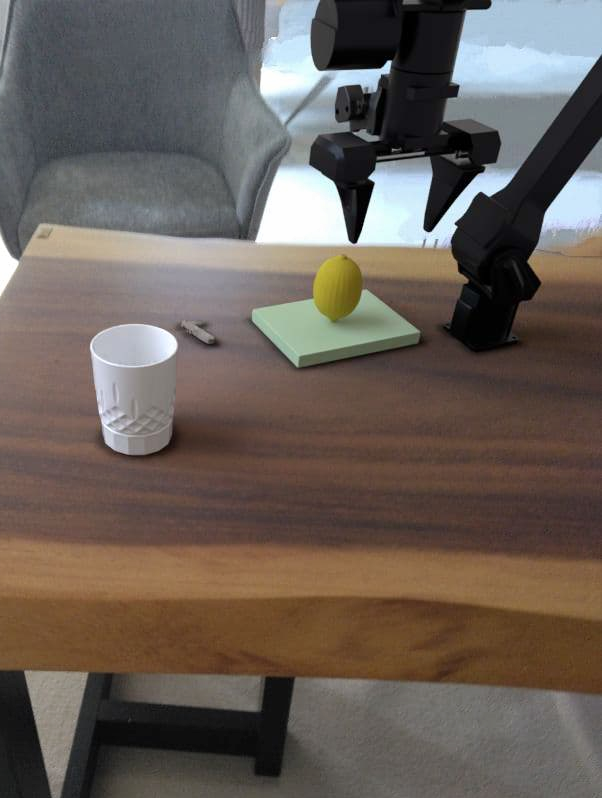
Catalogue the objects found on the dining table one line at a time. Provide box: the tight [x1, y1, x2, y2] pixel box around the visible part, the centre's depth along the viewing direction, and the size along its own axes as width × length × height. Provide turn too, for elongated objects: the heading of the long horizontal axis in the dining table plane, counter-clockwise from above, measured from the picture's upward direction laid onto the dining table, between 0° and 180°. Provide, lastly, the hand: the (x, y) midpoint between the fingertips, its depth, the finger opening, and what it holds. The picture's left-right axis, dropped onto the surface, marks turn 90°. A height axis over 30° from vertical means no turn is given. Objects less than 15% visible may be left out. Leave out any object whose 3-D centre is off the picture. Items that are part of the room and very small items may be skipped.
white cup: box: [89, 323, 179, 456], centre depth 75 cm, size 8×8×10 cm
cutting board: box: [251, 288, 421, 369], centre depth 94 cm, size 16×12×2 cm
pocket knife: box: [180, 319, 215, 345], centre depth 93 cm, size 6×1×3 cm
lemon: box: [312, 253, 363, 322], centre depth 91 cm, size 6×6×8 cm
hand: (390, 236), depth 83 cm, fingers open, 9 cm apart
